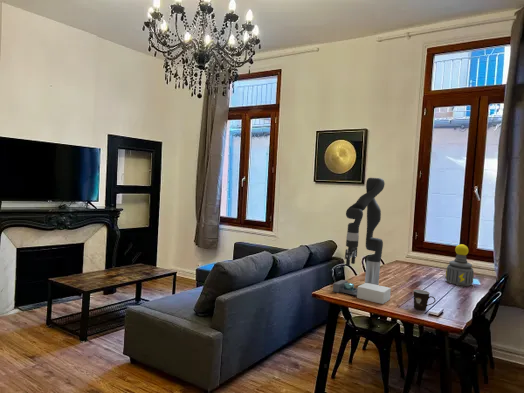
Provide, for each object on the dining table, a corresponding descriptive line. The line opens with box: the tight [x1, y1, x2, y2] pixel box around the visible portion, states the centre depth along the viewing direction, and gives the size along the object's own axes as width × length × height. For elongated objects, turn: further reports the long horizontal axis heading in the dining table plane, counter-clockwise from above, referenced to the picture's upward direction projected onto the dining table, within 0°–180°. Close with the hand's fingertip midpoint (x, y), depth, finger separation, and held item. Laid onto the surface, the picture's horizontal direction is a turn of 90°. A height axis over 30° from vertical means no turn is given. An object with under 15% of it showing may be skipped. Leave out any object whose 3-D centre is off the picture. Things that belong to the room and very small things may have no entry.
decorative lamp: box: [445, 243, 475, 287], centre depth 293 cm, size 19×19×30 cm
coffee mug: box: [413, 289, 436, 312], centre depth 219 cm, size 12×9×10 cm
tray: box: [332, 279, 358, 297], centre depth 242 cm, size 14×18×5 cm
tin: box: [344, 282, 355, 291], centre depth 243 cm, size 6×6×4 cm
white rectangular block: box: [356, 282, 392, 305], centre depth 234 cm, size 14×16×7 cm
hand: (350, 264), depth 243 cm, fingers open, 8 cm apart
